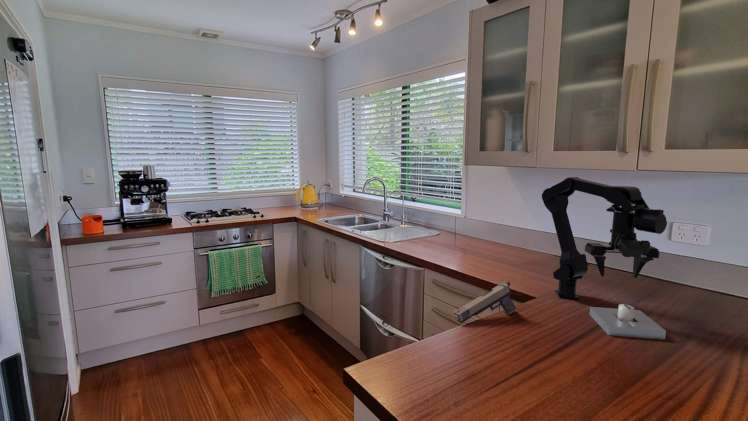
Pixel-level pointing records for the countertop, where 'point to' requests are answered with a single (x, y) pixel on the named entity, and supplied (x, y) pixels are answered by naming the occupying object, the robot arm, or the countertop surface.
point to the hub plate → (627, 324)
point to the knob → (625, 313)
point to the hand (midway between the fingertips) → (618, 277)
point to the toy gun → (487, 303)
